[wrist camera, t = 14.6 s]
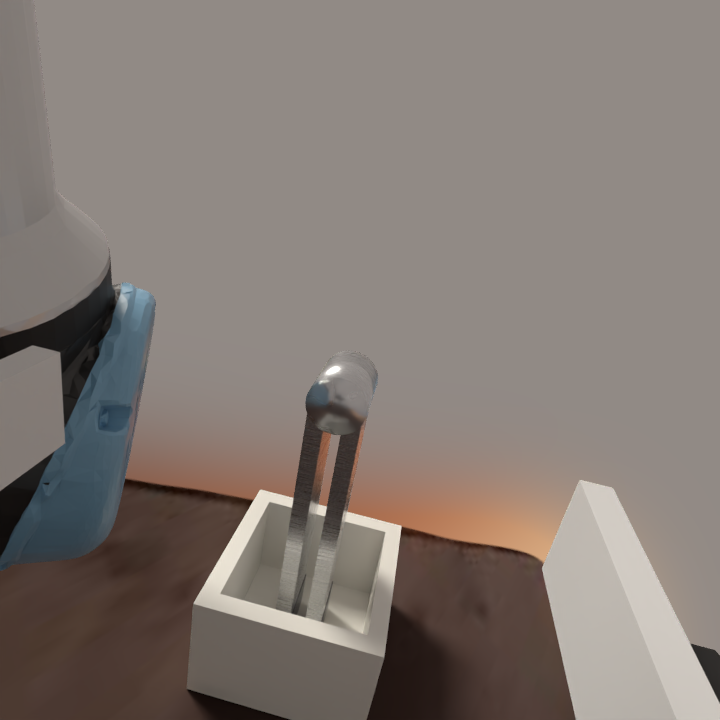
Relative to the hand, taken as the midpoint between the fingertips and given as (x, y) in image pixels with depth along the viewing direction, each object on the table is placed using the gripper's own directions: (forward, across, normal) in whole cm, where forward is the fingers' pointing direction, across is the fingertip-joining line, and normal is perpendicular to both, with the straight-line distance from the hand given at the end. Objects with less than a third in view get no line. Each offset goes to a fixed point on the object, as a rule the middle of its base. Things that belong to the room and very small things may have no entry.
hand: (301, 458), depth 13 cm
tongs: (+12, -1, -21) cm, 24 cm away
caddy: (+12, -1, -22) cm, 25 cm away
